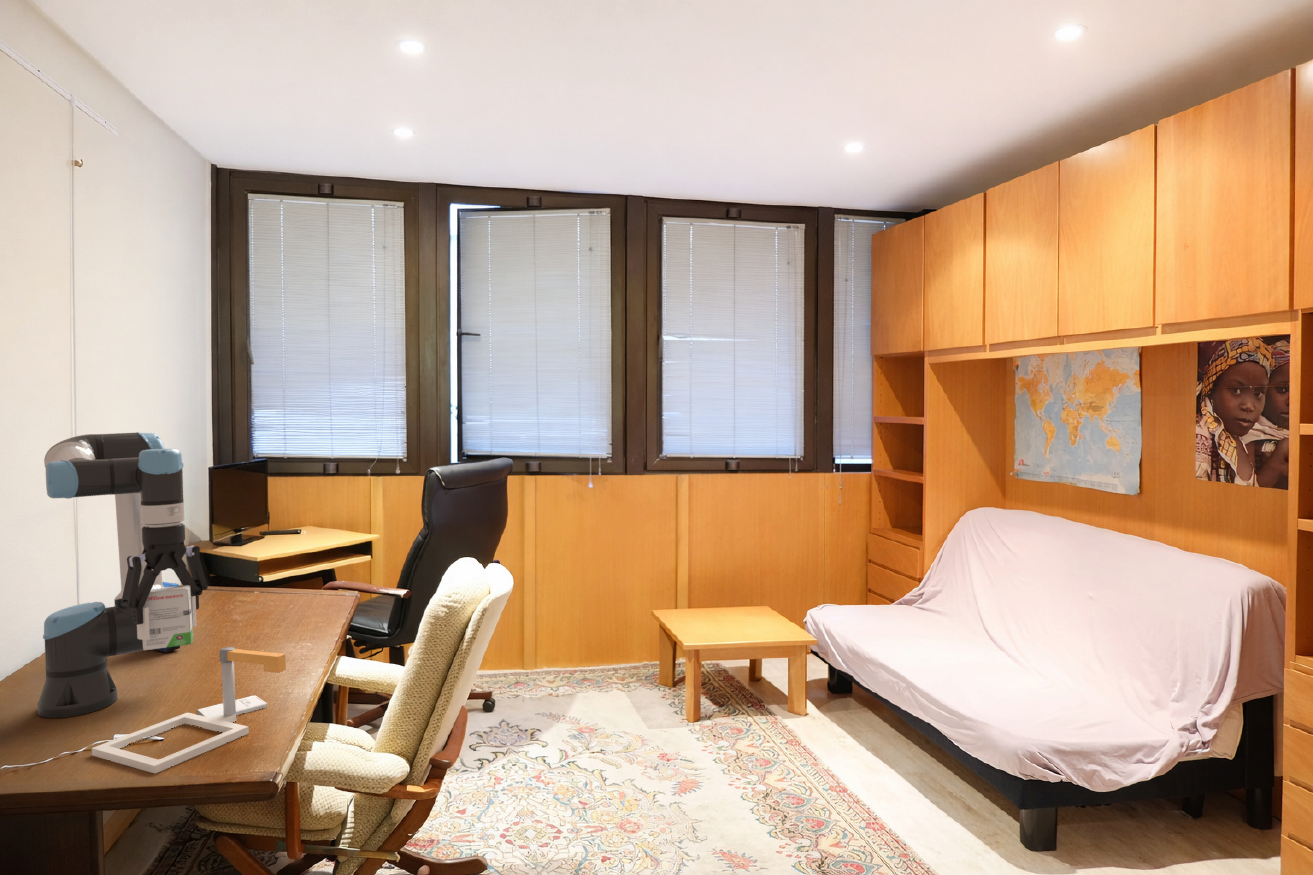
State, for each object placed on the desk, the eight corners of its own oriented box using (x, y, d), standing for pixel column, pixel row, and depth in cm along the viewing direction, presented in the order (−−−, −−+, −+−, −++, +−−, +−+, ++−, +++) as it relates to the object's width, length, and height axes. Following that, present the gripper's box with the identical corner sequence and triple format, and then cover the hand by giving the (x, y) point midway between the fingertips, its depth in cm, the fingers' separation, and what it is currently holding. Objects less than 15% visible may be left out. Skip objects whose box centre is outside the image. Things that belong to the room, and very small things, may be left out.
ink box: (194, 638, 167) (192, 583, 166) (191, 645, 162) (188, 588, 162) (146, 644, 163) (143, 587, 163) (141, 650, 159) (139, 592, 158)
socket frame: (92, 755, 159) (89, 689, 158) (205, 712, 181) (202, 654, 180) (155, 773, 150) (152, 703, 150) (265, 725, 172) (263, 664, 172)
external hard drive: (196, 715, 180) (254, 700, 189) (208, 725, 174) (267, 709, 183) (196, 708, 180) (254, 693, 189) (207, 718, 174) (267, 702, 183)
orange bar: (277, 673, 169) (276, 656, 169) (216, 667, 174) (216, 650, 174) (287, 669, 172) (286, 652, 171) (228, 662, 177) (227, 646, 176)
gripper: (119, 533, 150) (124, 649, 151) (224, 517, 170) (228, 620, 171) (95, 531, 153) (100, 645, 154) (201, 516, 173) (205, 617, 174)
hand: (167, 632), depth 163 cm, fingers closed on ink box, 9 cm apart
